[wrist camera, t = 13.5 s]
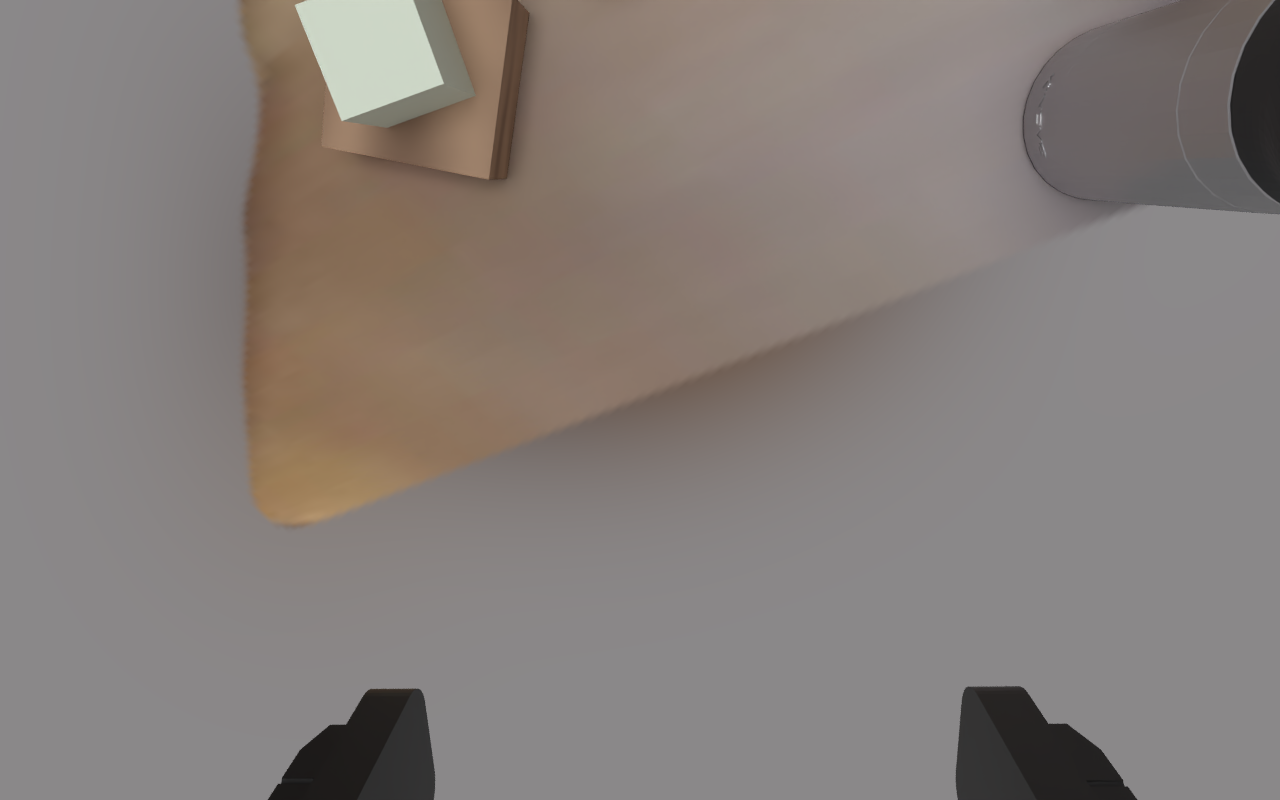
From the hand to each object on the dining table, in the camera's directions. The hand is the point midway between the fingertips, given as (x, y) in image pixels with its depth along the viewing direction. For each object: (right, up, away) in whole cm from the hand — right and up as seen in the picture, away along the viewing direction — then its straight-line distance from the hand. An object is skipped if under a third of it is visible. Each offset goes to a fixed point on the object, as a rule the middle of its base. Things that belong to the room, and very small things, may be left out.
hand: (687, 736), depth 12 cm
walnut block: (-12, +23, +34) cm, 43 cm away
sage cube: (-12, +22, +29) cm, 38 cm away
